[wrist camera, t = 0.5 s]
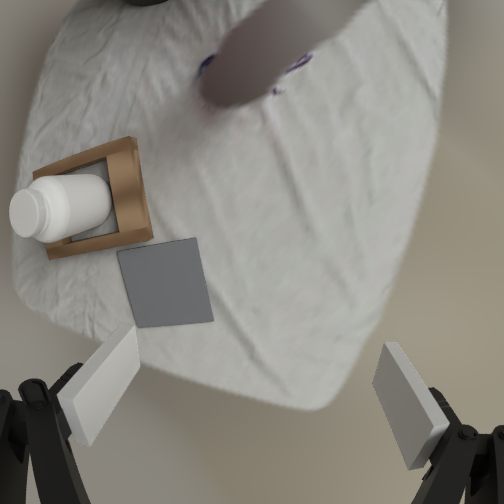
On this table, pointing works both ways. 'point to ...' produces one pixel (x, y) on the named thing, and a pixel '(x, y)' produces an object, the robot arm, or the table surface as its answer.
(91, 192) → the pill bottle
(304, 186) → the table surface
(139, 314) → the mat
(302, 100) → the table surface
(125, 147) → the pocket board
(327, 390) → the table surface
